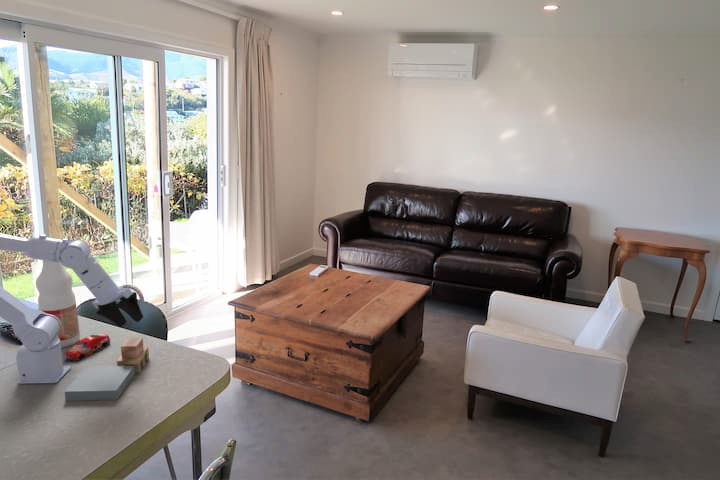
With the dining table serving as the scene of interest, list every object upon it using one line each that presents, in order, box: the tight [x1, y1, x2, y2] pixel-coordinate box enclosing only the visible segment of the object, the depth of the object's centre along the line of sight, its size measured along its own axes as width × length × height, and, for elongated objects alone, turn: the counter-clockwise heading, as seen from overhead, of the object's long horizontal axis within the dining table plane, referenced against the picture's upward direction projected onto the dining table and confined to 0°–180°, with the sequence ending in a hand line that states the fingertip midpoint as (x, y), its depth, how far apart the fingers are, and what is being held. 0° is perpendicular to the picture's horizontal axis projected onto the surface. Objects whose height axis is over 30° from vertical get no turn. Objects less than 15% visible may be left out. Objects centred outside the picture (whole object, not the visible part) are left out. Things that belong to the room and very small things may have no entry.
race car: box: [64, 333, 111, 361], centre depth 142 cm, size 13×5×4 cm, turn 159°
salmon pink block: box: [120, 337, 144, 358], centre depth 134 cm, size 4×5×4 cm
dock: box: [64, 365, 136, 402], centre depth 124 cm, size 12×12×2 cm
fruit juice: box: [35, 260, 81, 349], centre depth 144 cm, size 9×9×28 cm
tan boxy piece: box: [116, 346, 150, 374], centre depth 135 cm, size 6×8×4 cm
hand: (131, 322), depth 131 cm, fingers open, 7 cm apart
